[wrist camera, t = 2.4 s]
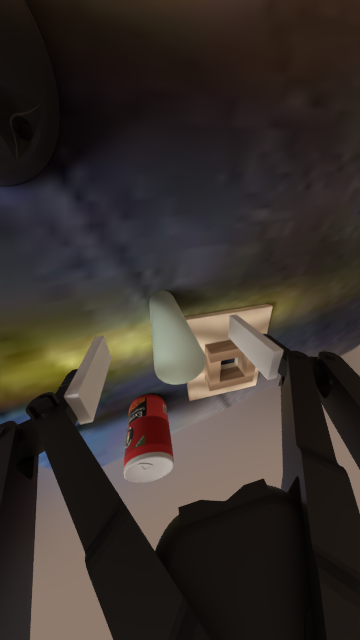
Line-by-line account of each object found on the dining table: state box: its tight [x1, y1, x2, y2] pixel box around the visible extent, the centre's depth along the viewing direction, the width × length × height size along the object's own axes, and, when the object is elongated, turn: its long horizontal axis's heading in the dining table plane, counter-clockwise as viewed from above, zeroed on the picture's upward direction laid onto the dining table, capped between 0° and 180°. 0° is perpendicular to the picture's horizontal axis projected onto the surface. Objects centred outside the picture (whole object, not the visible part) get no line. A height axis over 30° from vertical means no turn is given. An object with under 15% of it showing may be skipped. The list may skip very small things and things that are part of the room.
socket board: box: [185, 304, 273, 401], centre depth 30 cm, size 20×16×4 cm
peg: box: [149, 290, 206, 385], centre depth 18 cm, size 4×4×14 cm
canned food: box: [124, 394, 174, 483], centre depth 29 cm, size 8×8×11 cm
